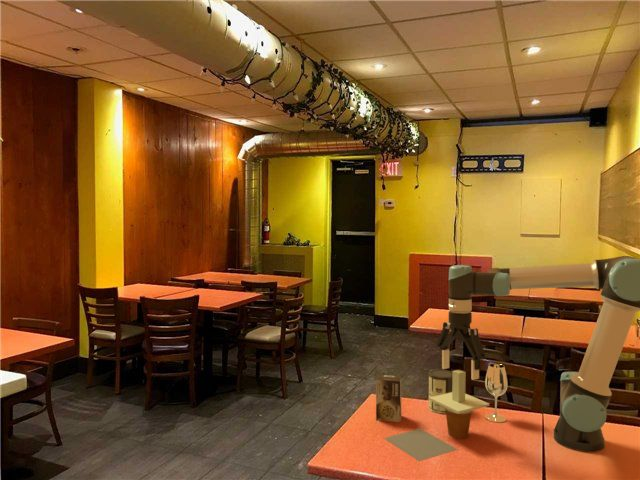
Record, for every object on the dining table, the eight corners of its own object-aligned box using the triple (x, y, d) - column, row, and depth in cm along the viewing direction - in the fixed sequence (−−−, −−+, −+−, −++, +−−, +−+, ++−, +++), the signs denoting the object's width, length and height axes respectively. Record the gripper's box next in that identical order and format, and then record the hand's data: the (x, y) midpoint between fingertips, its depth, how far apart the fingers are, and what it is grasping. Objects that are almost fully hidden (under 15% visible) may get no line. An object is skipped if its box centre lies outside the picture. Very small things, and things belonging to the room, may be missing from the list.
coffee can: (451, 403, 201) (451, 369, 200) (458, 413, 191) (458, 377, 190) (425, 403, 201) (426, 369, 200) (431, 413, 191) (431, 377, 190)
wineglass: (482, 413, 191) (483, 362, 190) (504, 414, 190) (505, 363, 189) (486, 422, 183) (487, 368, 182) (508, 423, 182) (510, 369, 181)
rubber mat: (457, 452, 159) (457, 449, 159) (418, 464, 152) (419, 461, 151) (420, 431, 175) (420, 428, 175) (383, 441, 167) (383, 438, 167)
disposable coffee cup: (473, 444, 165) (474, 409, 164) (444, 442, 166) (444, 406, 166) (471, 432, 174) (471, 398, 173) (443, 430, 176) (443, 396, 175)
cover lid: (489, 405, 167) (489, 374, 166) (458, 413, 160) (458, 380, 160) (458, 392, 179) (459, 363, 179) (428, 399, 172) (429, 368, 172)
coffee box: (401, 418, 186) (402, 375, 186) (400, 425, 180) (400, 381, 179) (377, 415, 189) (377, 373, 188) (375, 422, 182) (375, 379, 182)
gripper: (426, 306, 177) (426, 365, 178) (480, 318, 156) (480, 385, 156) (442, 304, 181) (442, 362, 182) (497, 316, 159) (497, 381, 160)
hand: (459, 373), depth 169 cm, fingers open, 13 cm apart
